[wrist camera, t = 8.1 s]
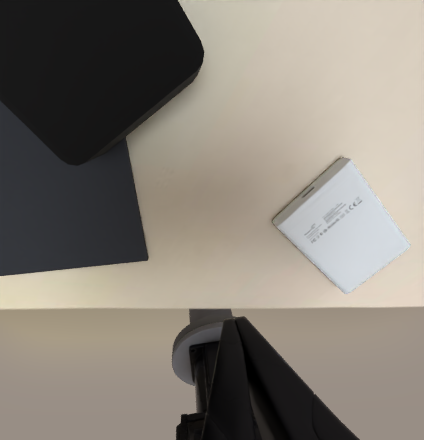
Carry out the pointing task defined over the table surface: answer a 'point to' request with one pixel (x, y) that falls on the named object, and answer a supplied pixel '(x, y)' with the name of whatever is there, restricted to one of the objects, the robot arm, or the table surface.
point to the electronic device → (93, 68)
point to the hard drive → (342, 227)
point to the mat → (64, 206)
